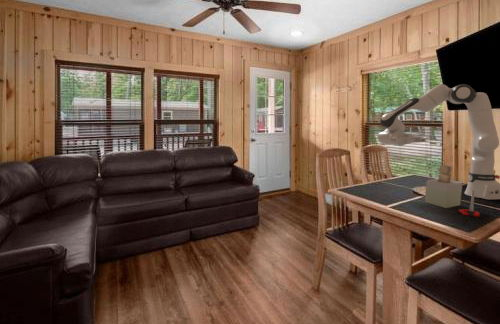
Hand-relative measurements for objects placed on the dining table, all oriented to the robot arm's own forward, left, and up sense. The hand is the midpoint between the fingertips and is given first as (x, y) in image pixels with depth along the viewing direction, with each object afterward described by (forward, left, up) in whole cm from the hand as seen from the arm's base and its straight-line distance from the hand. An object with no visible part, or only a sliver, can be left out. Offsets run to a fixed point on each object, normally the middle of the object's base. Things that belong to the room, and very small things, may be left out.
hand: (419, 140), depth 168 cm
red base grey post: (-14, +30, -35) cm, 48 cm away
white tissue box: (-9, +14, -35) cm, 39 cm away
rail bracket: (-9, +14, -26) cm, 31 cm away
